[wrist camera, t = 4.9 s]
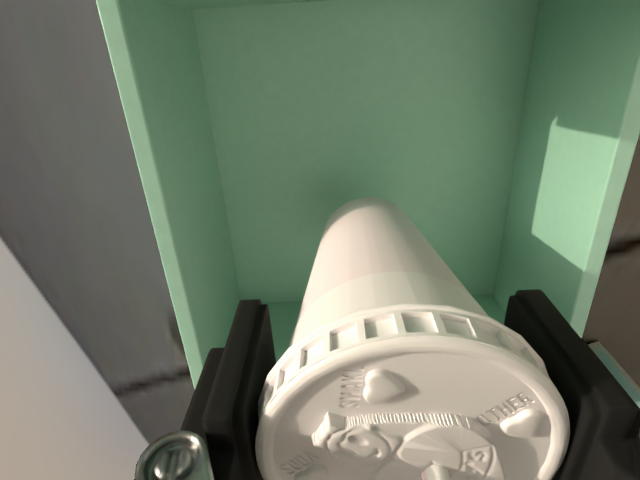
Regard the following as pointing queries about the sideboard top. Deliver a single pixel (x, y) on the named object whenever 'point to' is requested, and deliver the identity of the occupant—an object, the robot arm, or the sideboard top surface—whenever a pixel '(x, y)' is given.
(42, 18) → the sideboard top surface
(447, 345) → the smoothie
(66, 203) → the sideboard top surface
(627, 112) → the mint green open crate
